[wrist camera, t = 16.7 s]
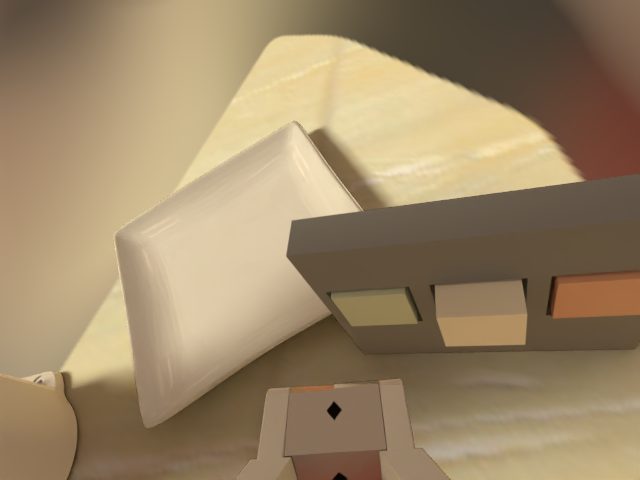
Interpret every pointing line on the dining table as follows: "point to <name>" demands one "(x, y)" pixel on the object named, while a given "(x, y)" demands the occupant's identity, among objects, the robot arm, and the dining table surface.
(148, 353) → the square plate
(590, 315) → the key terracotta
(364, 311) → the key sage
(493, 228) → the keyguard
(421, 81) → the dining table surface
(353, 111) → the dining table surface
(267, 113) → the dining table surface
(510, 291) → the key ivory
